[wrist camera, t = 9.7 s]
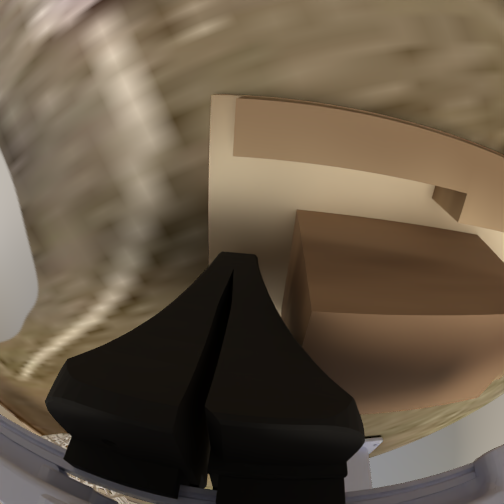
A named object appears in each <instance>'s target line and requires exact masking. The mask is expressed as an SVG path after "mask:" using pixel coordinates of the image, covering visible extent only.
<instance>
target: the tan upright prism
mask: <svg viewBox="0 0 504 504" xmlns="http://www.w3.org/2000/svg"><path fill="white" fill-rule="evenodd" d="M281 318H282V320H283V321H284V323H285V324H286V326H287V327H288V329H289V330H290V332H291V333H292V335H293V336H294V337H295V339H296V340H297V342H298V343H299V344H300V345H301V346H302V348H303V349H304V350H305V351H306V352H307V354H308V355H309V356H310V357H311V358H312V359H313V361H314V362H315V363H316V364H317V365H318V366H319V367H320V368H321V369H322V370H323V371H324V372H325V373H326V374H327V375H328V376H329V377H330V378H331V379H332V380H333V381H334V382H335V383H337V384H338V385H339V386H340V387H341V388H342V389H344V390H345V391H346V392H347V393H348V394H350V395H351V396H352V397H353V398H354V399H355V402H356V405H357V407H358V410H359V413H360V414H375V413H386V412H396V411H405V410H413V409H420V408H427V407H433V406H439V405H444V404H450V403H455V402H460V401H464V400H469V399H473V398H477V397H479V396H480V395H481V394H482V393H483V391H484V390H485V389H486V388H487V387H488V386H489V385H490V384H491V383H492V381H493V380H494V379H495V378H496V377H497V376H498V374H499V373H500V372H501V371H502V370H503V368H504V262H503V261H502V260H501V259H500V258H499V257H498V256H497V255H496V254H495V253H494V252H493V250H492V249H491V248H490V247H489V246H488V245H487V244H486V243H485V242H484V241H483V240H482V239H481V238H480V237H479V236H478V235H476V234H471V233H465V232H460V231H454V230H448V229H442V228H436V227H429V226H423V225H417V224H410V223H403V222H396V221H389V220H382V219H374V218H367V217H359V216H351V215H343V214H334V213H326V212H317V211H307V210H298V209H297V211H296V218H295V225H294V232H293V239H292V245H291V252H290V258H289V265H288V271H287V277H286V283H285V290H284V296H283V302H282V307H281Z"/></svg>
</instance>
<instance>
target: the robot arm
mask: <svg viewBox="0 0 504 504" xmlns="http://www.w3.org/2000/svg"><path fill="white" fill-rule="evenodd" d="M45 403H46V406H47V409H48V411H49V412H50V414H51V415H52V416H53V417H54V419H55V420H56V421H57V422H58V423H59V424H60V425H61V426H62V427H63V428H64V429H65V430H66V431H67V432H68V433H69V434H70V435H71V436H72V437H71V440H70V442H69V445H68V448H67V449H65V448H63V447H61V446H58V445H56V444H54V443H52V442H50V441H48V440H46V439H44V438H42V437H40V436H38V435H36V434H34V433H32V432H30V431H28V430H26V429H24V428H23V427H21V426H19V425H17V424H16V423H14V422H12V421H10V420H9V419H7V418H6V417H4V416H2V415H1V414H0V502H1V503H2V504H118V502H117V501H114V500H112V499H110V498H108V497H106V496H104V495H102V494H100V493H98V492H97V491H95V490H94V489H93V488H91V487H89V486H87V485H85V484H83V483H81V482H79V481H77V480H75V479H73V478H71V477H69V476H68V474H67V473H69V474H71V475H73V476H75V477H78V478H80V479H82V480H85V481H87V482H90V483H92V484H95V485H97V486H100V487H103V488H106V489H108V490H111V491H114V492H117V493H120V494H123V495H126V496H130V497H133V498H136V499H140V500H143V501H147V502H151V503H155V504H504V444H503V445H501V446H499V447H496V448H494V449H492V450H490V451H488V452H486V453H485V454H483V455H482V456H480V457H479V458H477V459H476V460H475V461H474V462H473V463H470V464H467V465H464V466H462V467H459V468H456V469H453V470H450V471H447V472H443V473H440V474H437V475H433V476H430V477H426V478H422V479H418V480H414V481H410V482H405V483H401V484H396V485H391V486H385V487H380V488H374V489H372V482H371V472H370V464H369V456H368V455H369V454H370V453H371V452H372V451H373V450H374V449H375V448H376V447H377V446H379V445H380V444H381V443H382V442H383V438H382V437H377V438H367V439H365V436H364V428H363V423H362V420H361V416H360V413H359V410H358V407H357V405H356V402H355V399H354V398H353V397H352V396H351V395H350V394H348V393H347V392H346V391H345V390H344V389H342V388H341V387H340V386H339V385H338V384H337V383H335V382H334V381H333V380H332V379H331V378H330V377H329V376H328V375H327V374H326V373H325V372H324V371H323V370H322V369H321V368H320V367H319V366H318V365H317V364H316V363H315V362H314V361H313V359H312V358H311V357H310V356H309V355H308V354H307V352H306V351H305V350H304V349H303V348H302V346H301V345H300V344H299V343H298V342H297V340H296V339H295V337H294V336H293V335H292V333H291V332H290V330H289V329H288V327H287V326H286V324H285V323H284V321H283V320H282V318H281V316H280V314H279V313H278V311H277V309H276V307H275V305H274V303H273V301H272V299H271V297H270V295H269V293H268V291H267V288H266V286H265V283H264V281H263V278H262V275H261V272H260V268H259V264H258V257H257V256H256V255H255V254H245V253H234V252H223V251H222V252H221V253H219V254H218V256H217V257H216V258H215V259H214V261H213V262H212V263H211V264H210V265H209V266H208V268H207V269H206V270H205V271H204V272H203V273H202V274H201V275H200V276H199V277H198V278H197V279H196V280H195V282H194V283H193V284H192V285H191V286H190V287H188V288H187V289H186V290H185V291H184V292H183V293H182V294H181V295H180V296H179V297H178V298H177V299H175V300H174V301H173V302H172V303H171V304H169V305H168V306H167V307H166V308H164V309H163V310H162V311H160V312H159V313H158V314H156V315H155V316H154V317H152V318H151V319H149V320H148V321H146V322H145V323H143V324H141V325H140V326H138V327H137V328H135V329H133V330H132V331H130V332H128V333H126V334H124V335H123V336H121V337H119V338H117V339H115V340H113V341H111V342H109V343H107V344H104V345H102V346H100V347H98V348H95V349H93V350H90V351H88V352H85V353H83V354H80V355H77V356H75V357H72V358H69V359H67V361H66V362H65V364H64V365H63V367H62V368H61V370H60V372H59V374H58V376H57V378H56V380H55V382H54V384H53V386H52V388H51V390H50V392H49V394H48V396H47V398H46V400H45ZM208 474H210V478H211V482H212V486H213V490H210V489H203V488H205V487H206V485H207V475H208Z"/></svg>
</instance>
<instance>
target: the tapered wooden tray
mask: <svg viewBox="0 0 504 504" xmlns="http://www.w3.org/2000/svg"><path fill="white" fill-rule="evenodd" d="M297 209H298V210H307V211H317V212H326V213H334V214H343V215H351V216H359V217H367V218H374V219H382V220H389V221H396V222H403V223H410V224H417V225H423V226H429V227H436V228H442V229H448V230H454V231H460V232H465V233H471V234H476V235H478V236H479V237H480V238H481V239H482V240H483V241H484V242H485V243H486V244H487V245H488V246H489V247H490V248H491V249H492V250H493V252H494V253H495V254H496V255H497V256H498V257H499V258H500V259H501V260H502V261H503V262H504V155H503V154H501V153H499V152H496V151H494V150H491V149H489V148H487V147H484V146H482V145H479V144H477V143H474V142H471V141H469V140H466V139H463V138H460V137H458V136H455V135H452V134H449V133H446V132H443V131H440V130H437V129H433V128H430V127H427V126H423V125H420V124H417V123H413V122H409V121H406V120H402V119H398V118H394V117H390V116H386V115H382V114H377V113H373V112H368V111H363V110H359V109H353V108H348V107H343V106H337V105H331V104H325V103H318V102H311V101H304V100H296V99H287V98H277V97H265V96H251V95H232V94H214V95H211V114H210V144H209V200H208V240H209V265H210V264H211V263H212V262H213V261H214V259H215V258H216V257H217V256H218V254H219V253H221V252H222V251H223V252H234V253H245V254H255V255H256V256H257V257H258V264H259V268H260V272H261V275H262V278H263V281H264V283H265V286H266V288H267V291H268V293H269V295H270V297H271V299H272V301H273V303H274V305H275V307H276V309H277V311H278V313H279V314H280V316H281V307H282V302H283V296H284V290H285V283H286V277H287V271H288V265H289V258H290V252H291V245H292V239H293V232H294V225H295V218H296V211H297ZM503 375H504V368H503V370H502V371H501V372H500V373H499V374H498V376H497V377H496V378H495V379H494V380H497V379H500V378H501V377H502V376H503Z"/></svg>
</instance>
